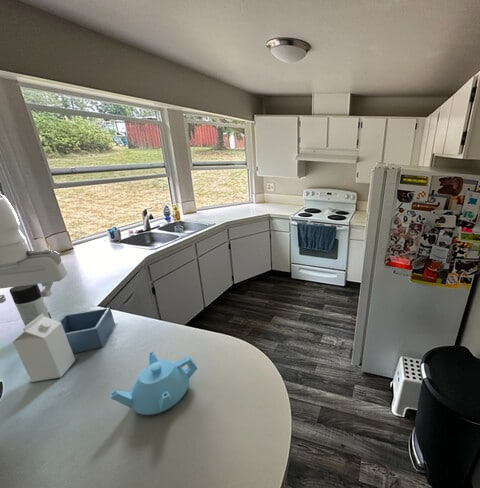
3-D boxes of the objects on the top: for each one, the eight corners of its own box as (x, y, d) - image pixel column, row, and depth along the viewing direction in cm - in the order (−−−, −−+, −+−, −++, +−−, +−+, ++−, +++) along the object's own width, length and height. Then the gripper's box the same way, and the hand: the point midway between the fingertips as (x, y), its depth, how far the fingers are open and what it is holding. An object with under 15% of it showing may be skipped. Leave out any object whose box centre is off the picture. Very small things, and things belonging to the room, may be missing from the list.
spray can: (60, 329, 96) (42, 283, 90) (37, 340, 90) (16, 292, 84) (48, 325, 98) (29, 280, 91) (24, 337, 92) (3, 289, 85)
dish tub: (51, 358, 83) (43, 338, 80) (70, 332, 95) (64, 314, 92) (102, 347, 88) (96, 328, 86) (115, 324, 100) (110, 307, 97)
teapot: (170, 425, 64) (163, 394, 61) (114, 420, 65) (104, 389, 61) (201, 376, 79) (197, 348, 75) (155, 372, 79) (149, 345, 76)
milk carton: (31, 382, 74) (6, 330, 68) (49, 364, 81) (27, 314, 74) (61, 377, 76) (39, 326, 70) (75, 360, 83) (57, 311, 76)
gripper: (63, 245, 72) (77, 287, 76) (-43, 253, 64) (-19, 300, 69) (50, 252, 66) (67, 297, 71) (-66, 263, 58) (-39, 313, 63)
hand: (24, 299), depth 70 cm, fingers open, 8 cm apart
